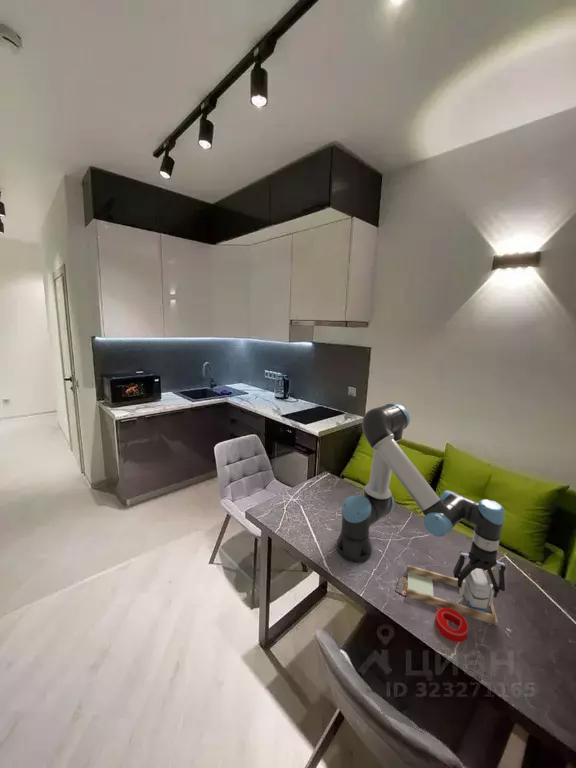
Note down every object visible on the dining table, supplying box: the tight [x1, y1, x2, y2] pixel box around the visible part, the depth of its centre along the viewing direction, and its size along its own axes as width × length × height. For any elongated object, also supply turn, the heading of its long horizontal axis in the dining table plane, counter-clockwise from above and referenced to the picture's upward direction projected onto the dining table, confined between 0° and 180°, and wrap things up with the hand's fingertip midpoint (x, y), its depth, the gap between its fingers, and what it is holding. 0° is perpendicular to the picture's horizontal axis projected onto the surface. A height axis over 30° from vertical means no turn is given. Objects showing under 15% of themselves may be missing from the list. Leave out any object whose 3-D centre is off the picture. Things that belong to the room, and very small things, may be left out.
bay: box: [406, 564, 499, 626], centre depth 117 cm, size 29×13×3 cm, turn 69°
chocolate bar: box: [394, 575, 408, 598], centre depth 121 cm, size 11×5×1 cm, turn 149°
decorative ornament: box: [434, 607, 469, 643], centre depth 105 cm, size 10×10×3 cm
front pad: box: [407, 572, 435, 597], centre depth 121 cm, size 9×11×1 cm
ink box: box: [463, 568, 491, 612], centre depth 113 cm, size 8×5×12 cm, turn 168°
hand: (474, 598), depth 114 cm, fingers open, 8 cm apart
